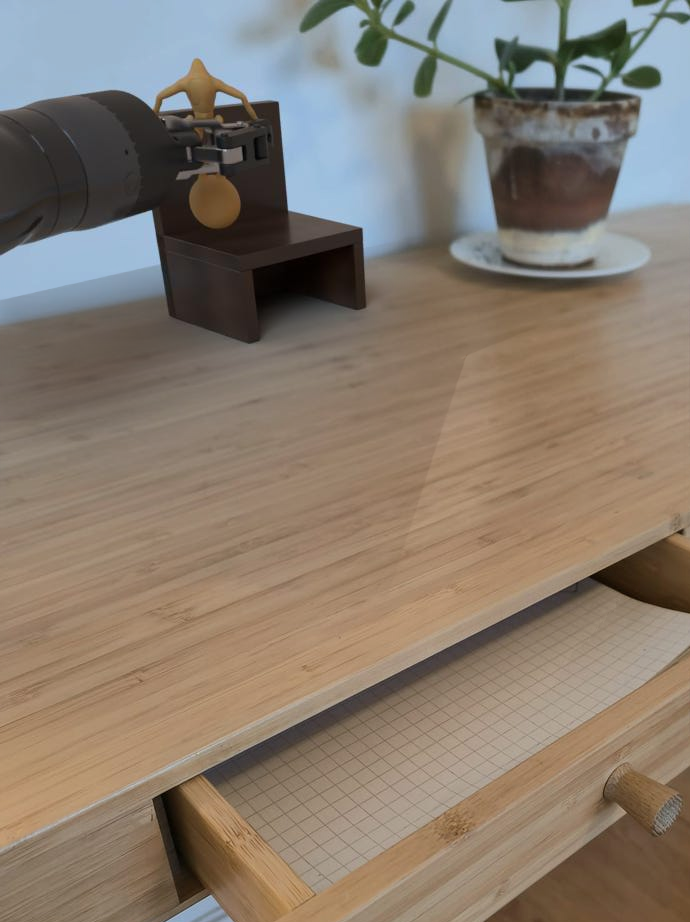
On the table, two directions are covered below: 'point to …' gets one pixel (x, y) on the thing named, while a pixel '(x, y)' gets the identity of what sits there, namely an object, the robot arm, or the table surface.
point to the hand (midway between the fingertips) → (223, 130)
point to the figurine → (210, 193)
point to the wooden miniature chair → (252, 246)
